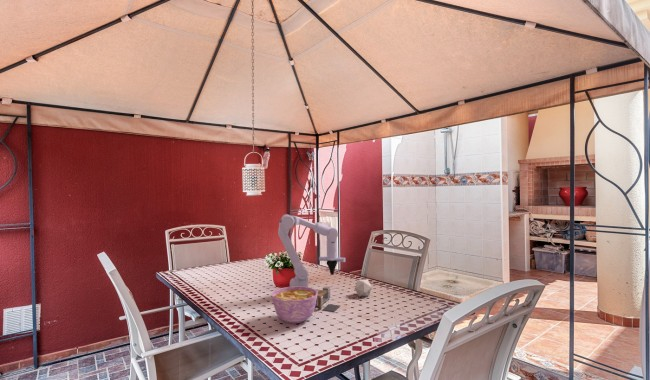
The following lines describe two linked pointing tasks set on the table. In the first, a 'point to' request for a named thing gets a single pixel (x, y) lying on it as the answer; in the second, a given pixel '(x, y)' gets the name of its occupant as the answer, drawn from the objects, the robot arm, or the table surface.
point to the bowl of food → (294, 303)
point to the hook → (325, 296)
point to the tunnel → (320, 294)
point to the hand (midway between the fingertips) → (332, 274)
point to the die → (363, 288)
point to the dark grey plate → (331, 308)
